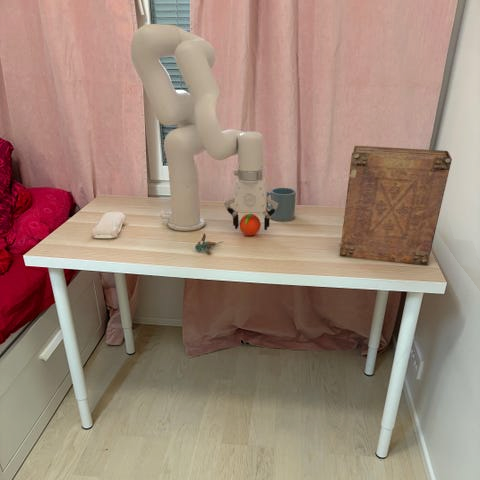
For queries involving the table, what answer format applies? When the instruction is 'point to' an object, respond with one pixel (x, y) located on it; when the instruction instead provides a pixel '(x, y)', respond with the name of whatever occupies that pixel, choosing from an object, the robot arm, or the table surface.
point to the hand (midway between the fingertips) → (251, 228)
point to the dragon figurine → (205, 244)
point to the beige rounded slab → (109, 225)
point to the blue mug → (283, 203)
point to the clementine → (250, 224)
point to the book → (393, 203)
